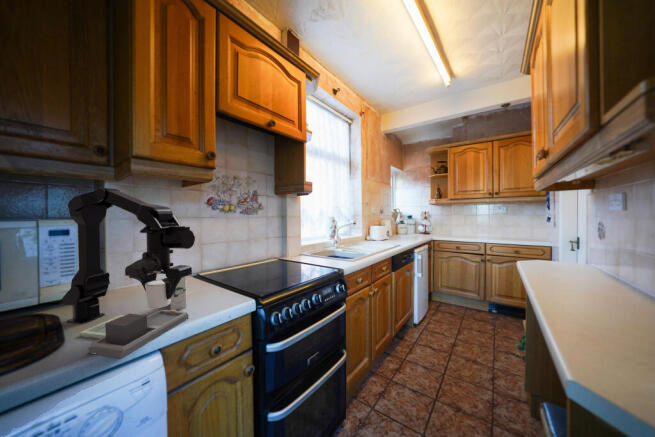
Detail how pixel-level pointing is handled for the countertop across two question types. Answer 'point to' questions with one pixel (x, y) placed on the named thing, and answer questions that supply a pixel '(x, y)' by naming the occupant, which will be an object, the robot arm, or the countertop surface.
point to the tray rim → (90, 332)
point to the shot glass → (156, 294)
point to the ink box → (179, 295)
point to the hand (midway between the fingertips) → (159, 298)
